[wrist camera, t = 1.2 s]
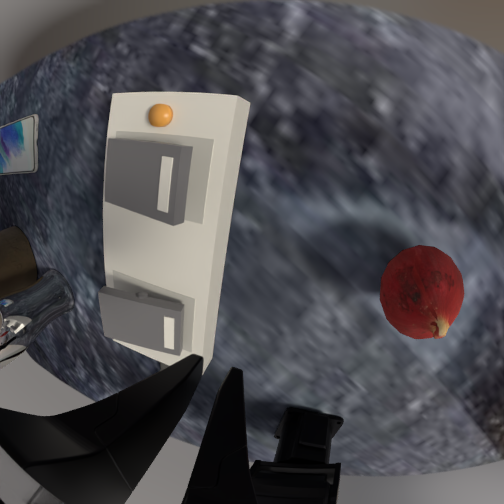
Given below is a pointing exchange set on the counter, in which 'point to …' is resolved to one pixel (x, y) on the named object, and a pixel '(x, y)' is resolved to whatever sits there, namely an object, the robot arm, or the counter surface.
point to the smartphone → (19, 146)
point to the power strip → (196, 212)
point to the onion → (421, 292)
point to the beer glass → (31, 313)
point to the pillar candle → (15, 261)
